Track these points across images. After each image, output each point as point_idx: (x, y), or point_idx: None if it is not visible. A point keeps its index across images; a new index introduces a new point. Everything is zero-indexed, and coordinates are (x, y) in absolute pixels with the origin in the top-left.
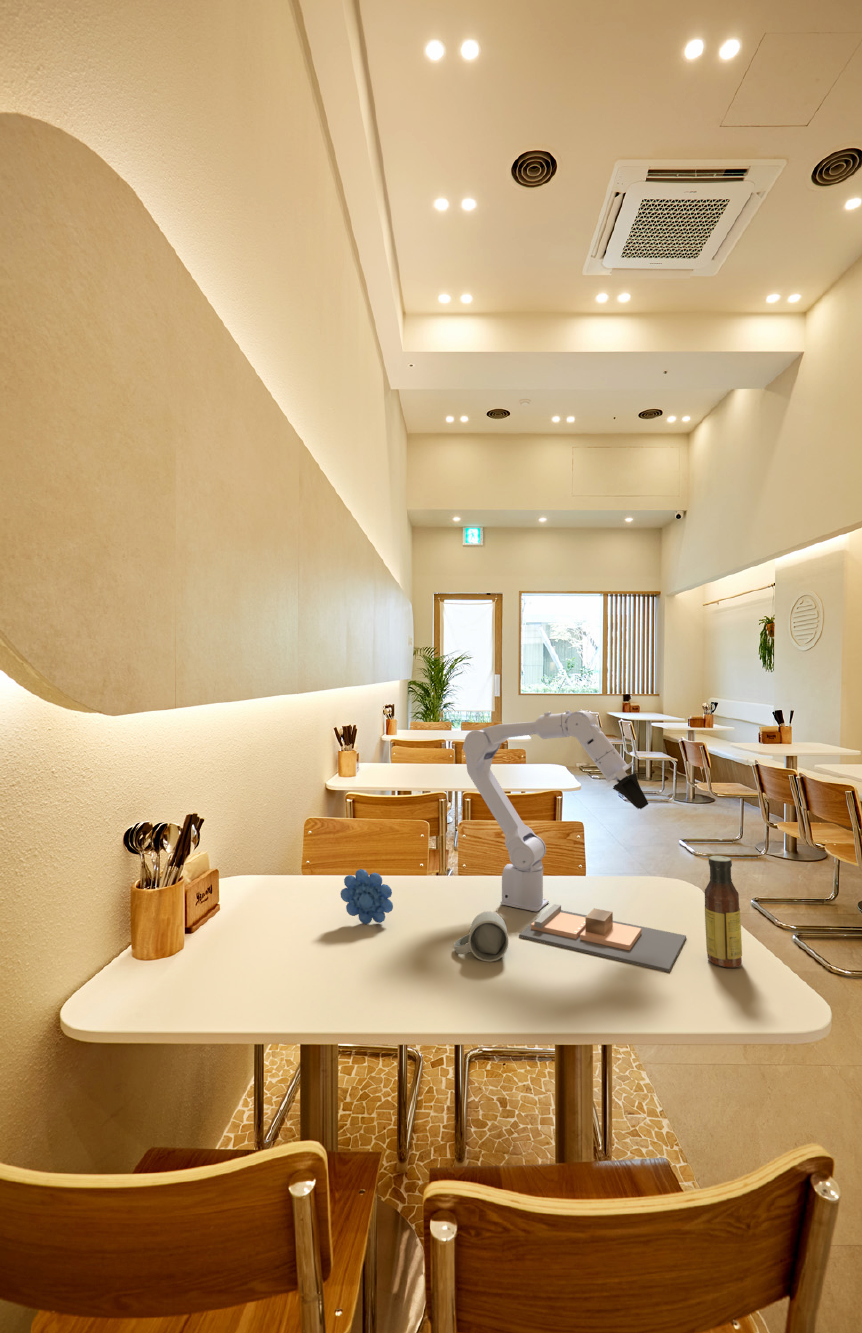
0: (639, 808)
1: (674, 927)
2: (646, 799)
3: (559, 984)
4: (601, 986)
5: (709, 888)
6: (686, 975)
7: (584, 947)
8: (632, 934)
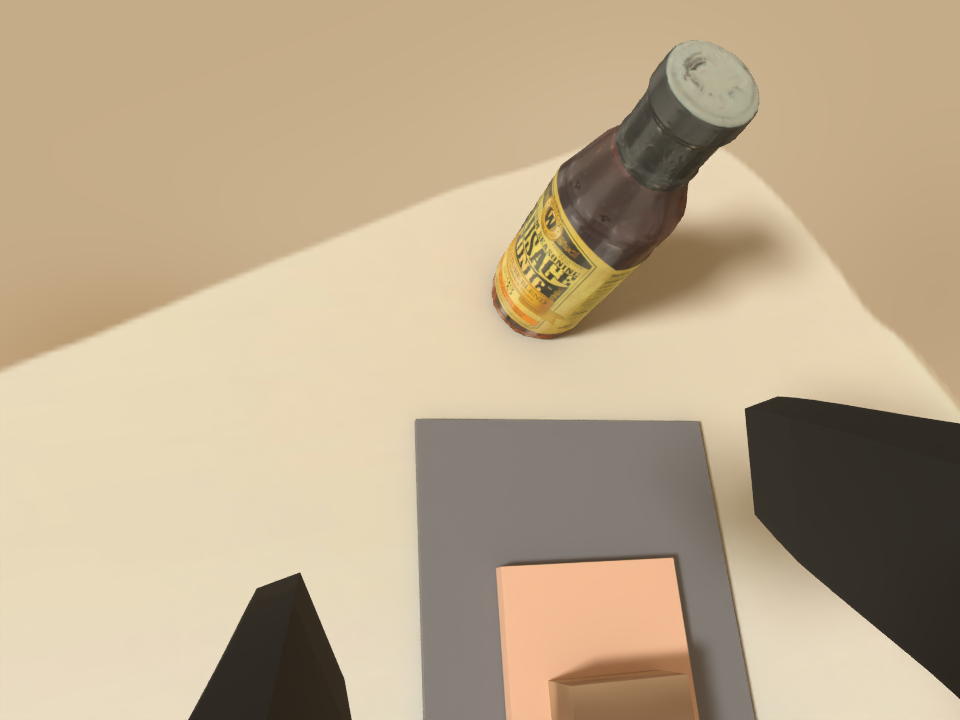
0: (767, 527)
1: (323, 480)
2: (832, 404)
3: None
4: None
5: (673, 210)
6: (678, 380)
7: (739, 712)
8: (579, 578)
